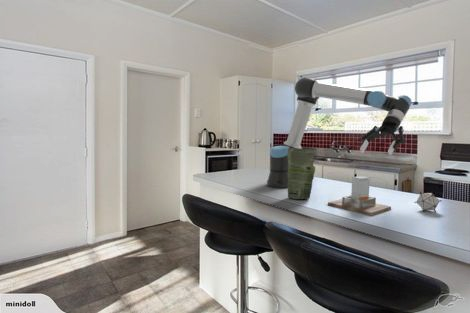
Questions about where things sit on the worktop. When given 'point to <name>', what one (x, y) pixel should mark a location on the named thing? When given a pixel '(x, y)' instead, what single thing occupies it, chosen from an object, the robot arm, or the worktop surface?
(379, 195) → the worktop surface
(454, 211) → the worktop surface
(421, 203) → the game die
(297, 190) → the pouch
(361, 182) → the skincare box
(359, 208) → the walnut mount
